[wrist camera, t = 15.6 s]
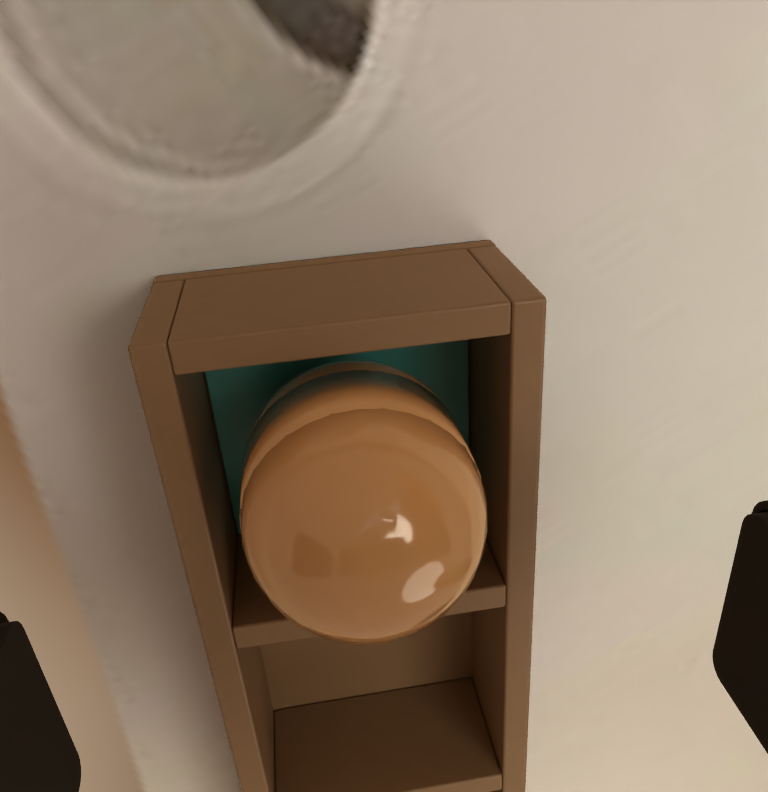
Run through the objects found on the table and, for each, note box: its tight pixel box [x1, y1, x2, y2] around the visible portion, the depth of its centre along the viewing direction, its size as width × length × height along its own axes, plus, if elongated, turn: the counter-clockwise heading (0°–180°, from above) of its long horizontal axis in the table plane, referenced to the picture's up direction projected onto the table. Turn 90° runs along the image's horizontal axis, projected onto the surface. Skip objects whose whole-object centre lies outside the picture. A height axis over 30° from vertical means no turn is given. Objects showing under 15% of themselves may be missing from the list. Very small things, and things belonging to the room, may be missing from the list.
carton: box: [128, 240, 546, 792], centre depth 18 cm, size 7×19×3 cm, turn 4°
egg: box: [240, 359, 488, 645], centre depth 13 cm, size 4×4×6 cm
